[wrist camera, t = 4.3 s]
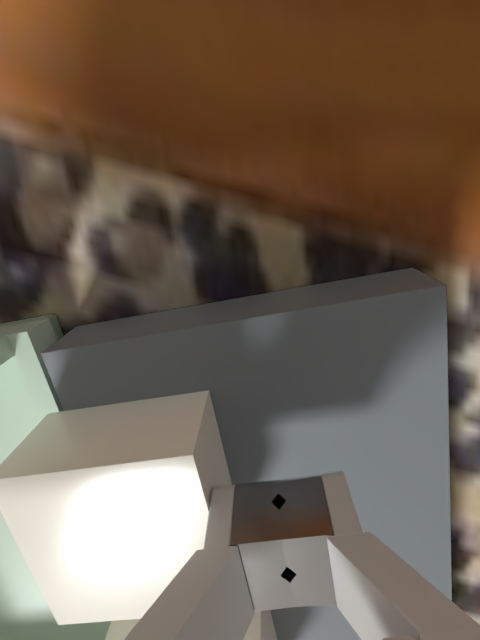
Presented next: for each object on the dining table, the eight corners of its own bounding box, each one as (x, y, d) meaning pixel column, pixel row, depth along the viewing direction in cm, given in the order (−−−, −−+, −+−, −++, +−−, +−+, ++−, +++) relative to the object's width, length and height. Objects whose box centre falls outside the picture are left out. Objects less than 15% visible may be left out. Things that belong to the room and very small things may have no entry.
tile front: (208, 390, 10) (192, 454, 7) (241, 521, 11) (236, 610, 9) (48, 413, 10) (-15, 480, 8) (99, 536, 12) (58, 625, 9)
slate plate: (412, 267, 10) (446, 284, 9) (429, 628, 15) (453, 690, 13) (76, 326, 12) (40, 353, 10) (190, 646, 16) (181, 706, 14)
